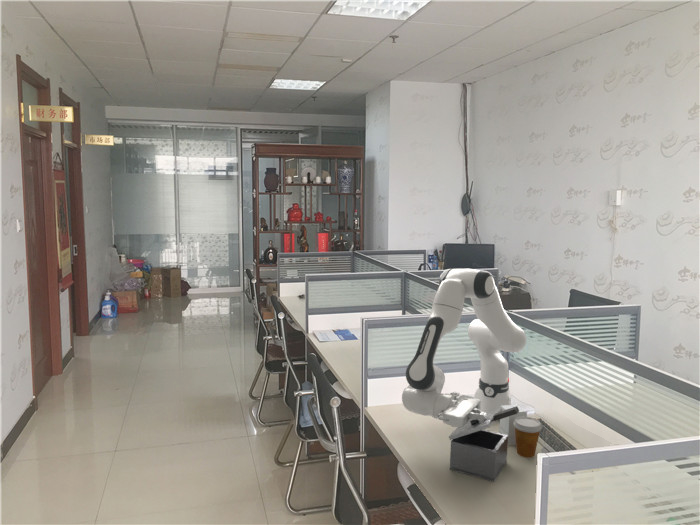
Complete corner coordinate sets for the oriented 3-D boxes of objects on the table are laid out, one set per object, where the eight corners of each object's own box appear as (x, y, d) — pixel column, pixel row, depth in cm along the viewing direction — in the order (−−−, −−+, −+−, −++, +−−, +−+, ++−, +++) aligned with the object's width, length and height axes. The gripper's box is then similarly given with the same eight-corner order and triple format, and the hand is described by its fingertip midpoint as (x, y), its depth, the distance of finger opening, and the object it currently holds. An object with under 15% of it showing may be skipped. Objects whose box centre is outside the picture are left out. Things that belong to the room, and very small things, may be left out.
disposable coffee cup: (541, 451, 204) (543, 419, 203) (537, 462, 196) (539, 429, 194) (514, 445, 209) (516, 414, 207) (509, 456, 200) (511, 423, 199)
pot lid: (465, 424, 201) (462, 418, 202) (523, 404, 190) (520, 398, 190) (450, 440, 189) (447, 433, 189) (512, 420, 177) (508, 413, 177)
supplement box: (525, 444, 210) (527, 411, 208) (507, 445, 208) (509, 412, 207) (516, 435, 217) (518, 404, 215) (498, 436, 215) (500, 405, 214)
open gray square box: (464, 451, 203) (465, 425, 201) (506, 462, 195) (508, 435, 194) (449, 469, 190) (451, 441, 189) (493, 481, 182) (495, 452, 181)
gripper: (435, 408, 187) (476, 418, 180) (456, 390, 204) (494, 398, 197) (434, 426, 188) (475, 436, 181) (456, 406, 205) (493, 415, 198)
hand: (485, 416), depth 189 cm, fingers closed
